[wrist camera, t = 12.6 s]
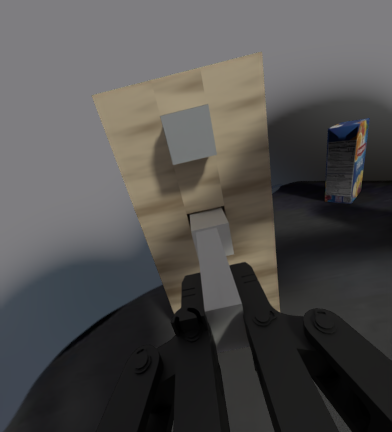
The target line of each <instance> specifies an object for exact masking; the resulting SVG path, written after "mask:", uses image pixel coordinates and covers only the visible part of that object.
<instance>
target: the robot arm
mask: <svg viewBox="0 0 392 432" xmlns="http://www.w3.org/2000/svg"><path fill="white" fill-rule="evenodd" d="M196 238H197V247H198V256H199V265H200V273H195V274H191V275H186V276H185V277H184V279H183V281H182V284H181V291H182V292H181V308H180V309H179V310H178V311H176V313H175V314H174V316H173V317H172V321H171V324H172V327H173V329H174V332H175V334H176V335H175V336H174V337H173V338H172V339H171V340H170V341H168V342H167V343H165V344H163V345H161V346H160V347H158V348H155V346H152V345H143V346H141V347H139V348H138V349H136V350H135V351H134V352H133V353H132V354H131V355H130V357H129V359H128V360H127V362H126V364H125V367H124V369H123V371H122V373H121V376H120V378H119V380H118V382H117V385H116V387H115V389H114V391H113V394H112V396H111V398H110V400H109V403H108V405H107V407H106V409H105V412H104V414H103V416H102V418H101V421H100V423H99V425H98V427H97V430H96V432H171V430H172V425H173V420H174V427H173V432H230V427H229V421H228V414H227V408H226V401H225V395H224V388H223V382H222V375H221V369H220V365H219V362H218V356H217V353H221V352H225V351H230V350H235V349H240V348H245V347H250V348H251V351H252V355H253V361H254V366H255V371H257V374H258V378H259V381H260V384H261V388H262V391H263V394H264V398H265V401H266V404H267V408H268V411H269V414H270V418H271V421H272V425H273V428H274V431H275V432H339V431H338V429H337V427H336V425H335V423H334V421H333V419H332V417H331V415H330V413H329V411H328V409H327V407H326V405H325V403H324V401H323V399H322V397H321V396H320V394H319V392H318V390H317V388H316V386H315V384H314V382H315V383H316V384H317V386H318V387H319V388H320V390H321V391H322V392H323V394H324V395H325V396H326V398H327V399H328V400H329V402H330V403H331V404H332V406H333V407H334V408H335V410H336V411H337V412H338V414H339V415H340V416H341V418H342V419H343V420H344V422H345V423H346V424H347V426H348V427H349V428H350V430H351V431H352V432H392V361H391V360H390V359H389V358H388V357H386V356H385V355H384V354H383V353H382V352H380V351H379V350H378V349H377V348H376V347H375V346H373V345H372V344H371V343H370V342H369V341H367V340H366V339H365V338H364V337H363V336H362V335H360V334H359V333H358V332H357V331H356V330H354V329H353V328H352V327H351V326H350V325H349V324H347V323H346V322H345V321H344V320H343V319H341V318H340V317H339V316H338V315H336V314H334V313H333V312H331V311H328V310H325V309H318V308H315V309H311V310H309V311H308V312H306V313H305V315H304V317H303V316H291V315H286V314H283V313H280V312H279V311H277V310H275V309H274V308H273V307H272V306H271V304H270V303H269V301H268V299H267V297H266V295H265V293H264V291H263V289H262V287H261V285H260V283H259V281H258V279H257V277H256V275H255V272H254V270H253V268H252V267H251V266H250V265H249V264H248V263H246V262H241V263H237V264H233V265H229V263H228V260H227V257H226V254H225V251H224V248H223V245H222V242H221V239H220V236H219V233H218V230H217V228H213V229H209V230H205V231H200V232H196ZM312 379H313V380H314V382H313V380H312Z"/></svg>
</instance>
